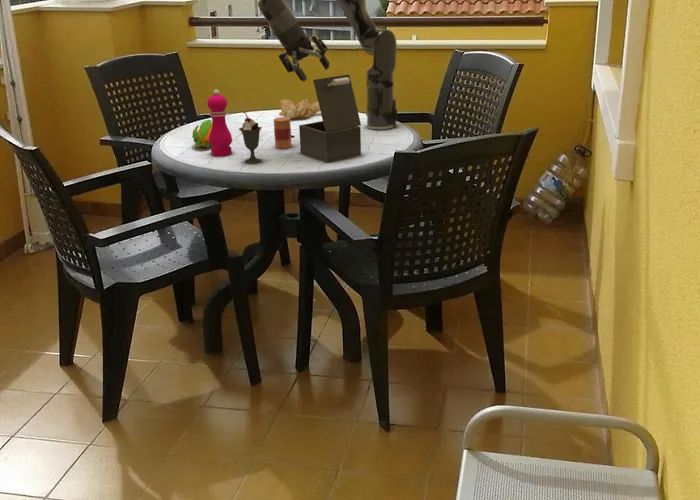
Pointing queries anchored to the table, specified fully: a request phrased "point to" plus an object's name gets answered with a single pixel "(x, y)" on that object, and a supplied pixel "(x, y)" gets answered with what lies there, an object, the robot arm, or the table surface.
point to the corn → (202, 134)
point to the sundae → (251, 137)
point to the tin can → (282, 132)
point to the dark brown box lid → (337, 102)
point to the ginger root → (298, 109)
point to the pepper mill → (219, 126)
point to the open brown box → (329, 142)
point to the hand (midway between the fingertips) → (316, 74)
